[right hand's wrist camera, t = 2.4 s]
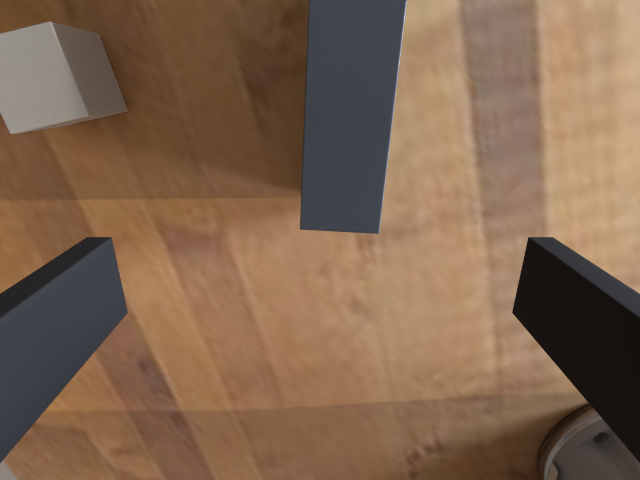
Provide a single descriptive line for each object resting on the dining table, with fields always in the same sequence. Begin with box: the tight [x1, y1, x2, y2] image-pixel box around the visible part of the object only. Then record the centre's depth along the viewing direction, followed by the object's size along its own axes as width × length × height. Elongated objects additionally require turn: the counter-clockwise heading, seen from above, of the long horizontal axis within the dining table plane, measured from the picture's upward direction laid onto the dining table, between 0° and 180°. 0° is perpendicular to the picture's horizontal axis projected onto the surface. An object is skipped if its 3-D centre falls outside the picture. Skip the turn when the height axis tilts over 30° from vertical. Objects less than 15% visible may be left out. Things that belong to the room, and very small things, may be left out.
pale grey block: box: [0, 21, 128, 134], centre depth 24 cm, size 5×5×5 cm
